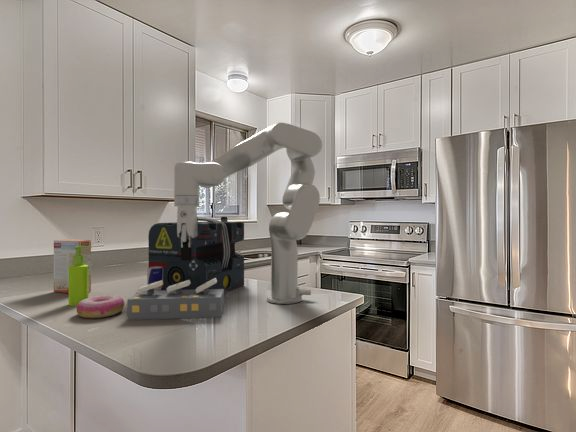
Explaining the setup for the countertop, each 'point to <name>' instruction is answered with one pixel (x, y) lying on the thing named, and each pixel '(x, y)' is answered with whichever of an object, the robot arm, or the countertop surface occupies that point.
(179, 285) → the block
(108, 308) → the donut
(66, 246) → the cracker box
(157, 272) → the energy drink
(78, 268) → the soap dispenser
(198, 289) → the rocker
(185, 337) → the countertop surface
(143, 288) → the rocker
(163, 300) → the panel
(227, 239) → the power unit
